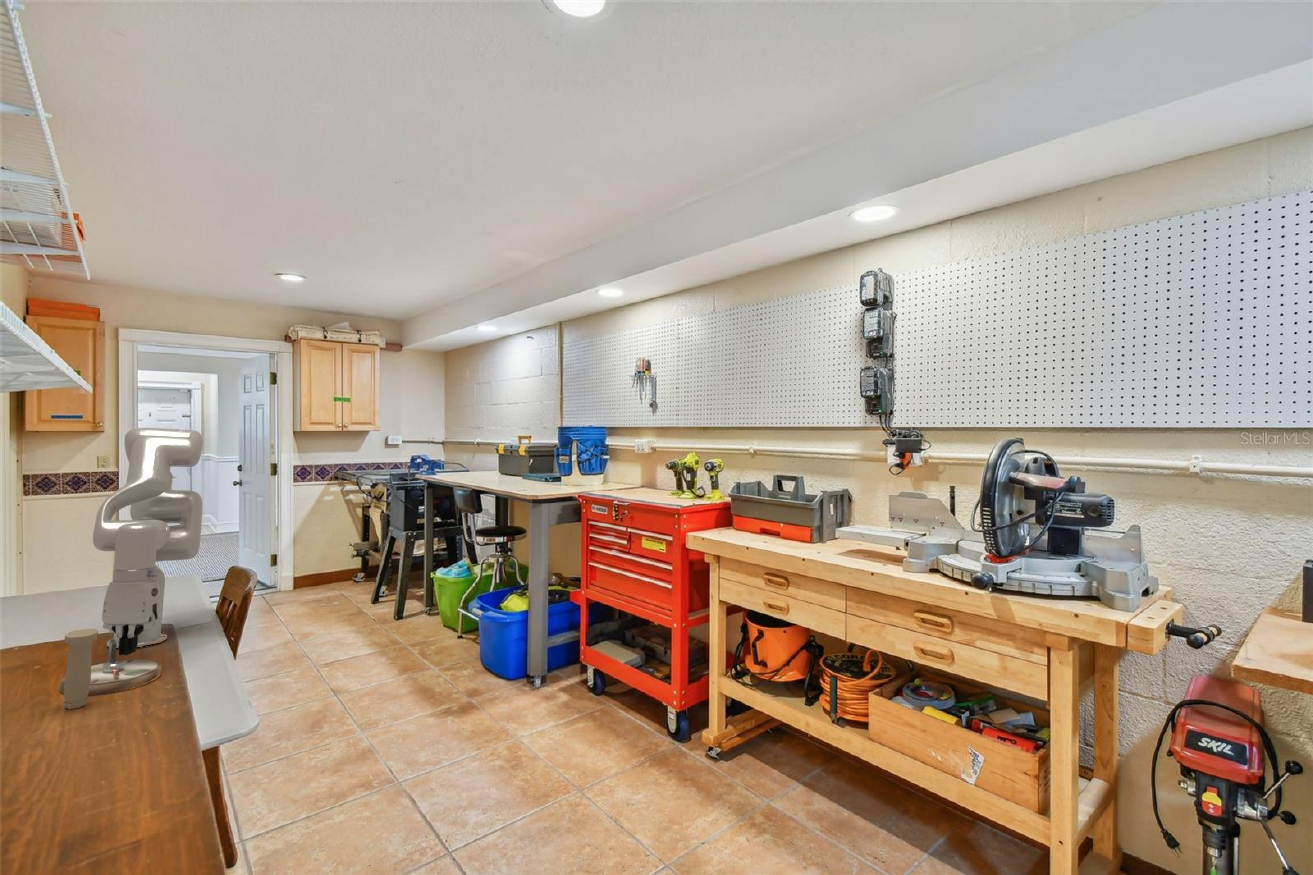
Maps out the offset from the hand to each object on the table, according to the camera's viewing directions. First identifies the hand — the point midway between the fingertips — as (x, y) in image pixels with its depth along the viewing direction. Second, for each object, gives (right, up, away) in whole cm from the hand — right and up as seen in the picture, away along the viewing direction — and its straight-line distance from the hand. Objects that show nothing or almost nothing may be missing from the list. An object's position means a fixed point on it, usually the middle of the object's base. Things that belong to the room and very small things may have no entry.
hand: (127, 653), depth 140 cm
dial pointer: (+1, -2, -5) cm, 5 cm away
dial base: (+1, -5, -5) cm, 7 cm away
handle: (+6, -4, -19) cm, 20 cm away
